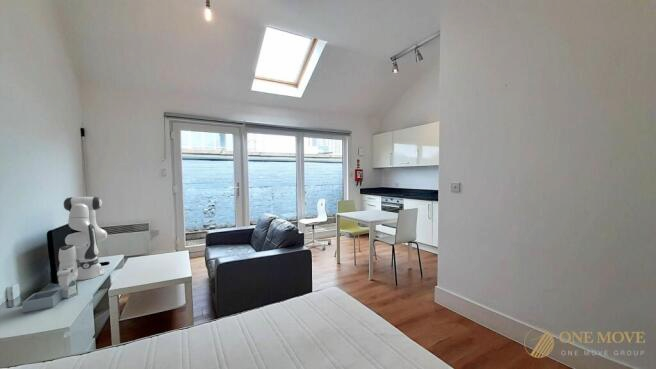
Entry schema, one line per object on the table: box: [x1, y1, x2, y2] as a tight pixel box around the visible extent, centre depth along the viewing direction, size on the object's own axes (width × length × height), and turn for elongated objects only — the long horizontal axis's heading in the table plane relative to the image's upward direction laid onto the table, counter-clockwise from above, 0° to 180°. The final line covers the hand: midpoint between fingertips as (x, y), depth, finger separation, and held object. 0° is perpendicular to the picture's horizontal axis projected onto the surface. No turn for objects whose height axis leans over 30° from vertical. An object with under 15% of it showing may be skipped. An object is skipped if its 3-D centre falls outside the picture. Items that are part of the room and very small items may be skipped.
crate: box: [21, 288, 64, 314], centre depth 165 cm, size 14×14×7 cm
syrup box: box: [61, 275, 79, 299], centre depth 178 cm, size 6×6×14 cm
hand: (69, 287), depth 178 cm, fingers closed on syrup box, 8 cm apart
